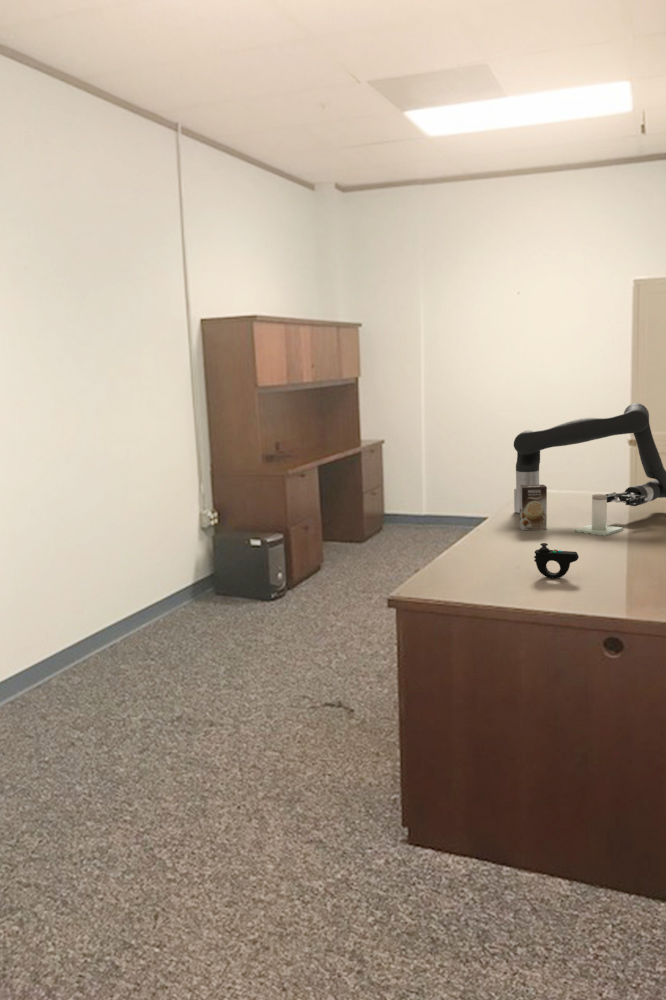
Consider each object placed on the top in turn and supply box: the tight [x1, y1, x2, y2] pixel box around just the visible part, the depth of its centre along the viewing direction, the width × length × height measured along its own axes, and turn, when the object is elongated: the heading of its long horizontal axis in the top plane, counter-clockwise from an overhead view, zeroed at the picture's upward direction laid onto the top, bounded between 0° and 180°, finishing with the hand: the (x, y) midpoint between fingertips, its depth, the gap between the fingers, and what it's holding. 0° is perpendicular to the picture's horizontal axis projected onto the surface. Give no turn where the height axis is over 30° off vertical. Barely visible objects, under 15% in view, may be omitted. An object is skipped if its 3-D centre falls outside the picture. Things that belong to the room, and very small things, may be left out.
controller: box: [533, 542, 580, 580], centre depth 228 cm, size 4×12×10 cm, turn 65°
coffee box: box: [519, 484, 548, 531], centre depth 294 cm, size 9×6×16 cm
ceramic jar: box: [591, 493, 608, 530], centre depth 284 cm, size 5×5×12 cm
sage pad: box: [574, 523, 624, 537], centre depth 285 cm, size 12×12×1 cm
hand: (615, 501), depth 291 cm, fingers open, 8 cm apart
